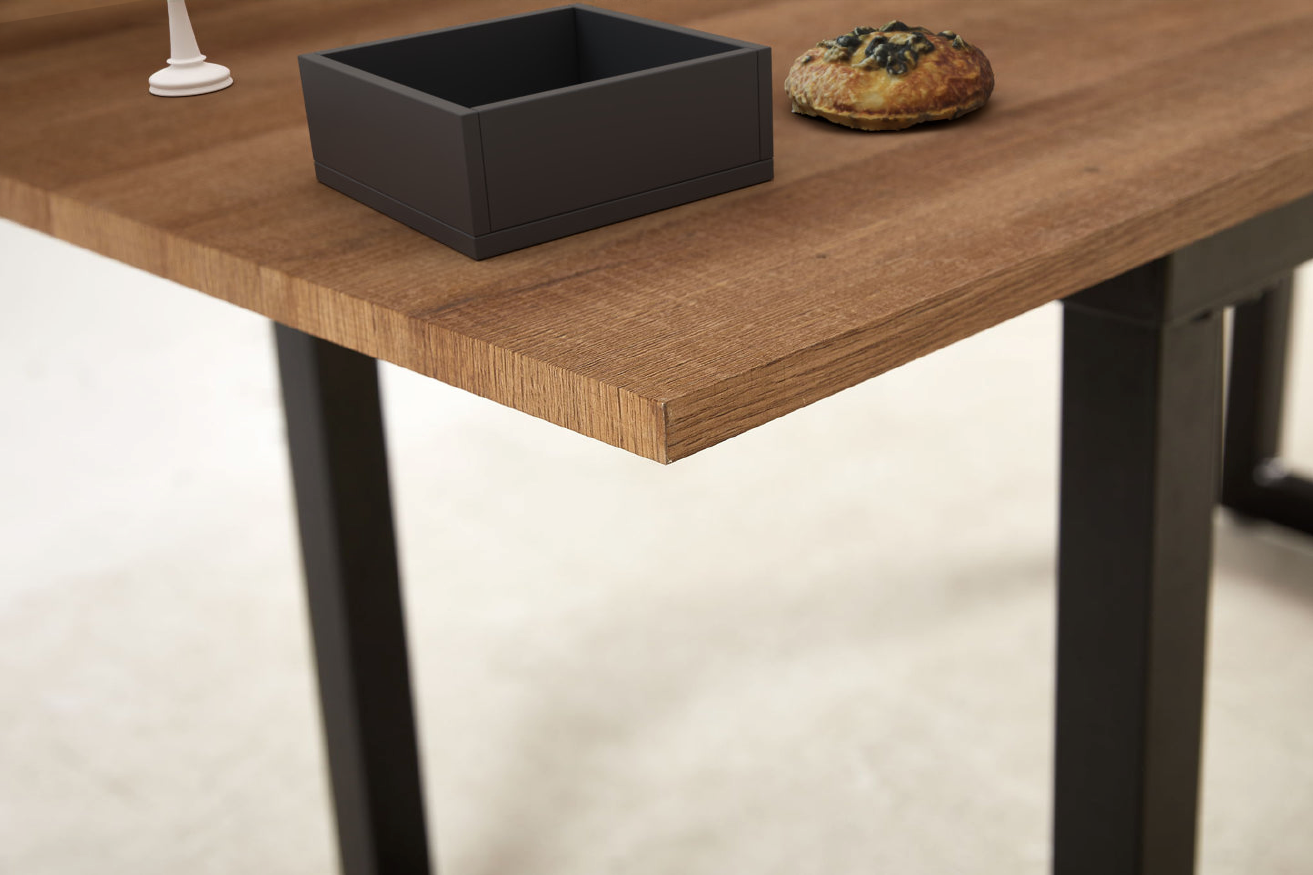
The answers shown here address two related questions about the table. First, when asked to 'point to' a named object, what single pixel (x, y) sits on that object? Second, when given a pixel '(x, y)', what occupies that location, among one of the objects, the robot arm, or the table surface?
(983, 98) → the bread roll
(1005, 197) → the table surface
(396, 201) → the bin
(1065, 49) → the table surface
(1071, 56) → the table surface
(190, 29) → the chess piece
